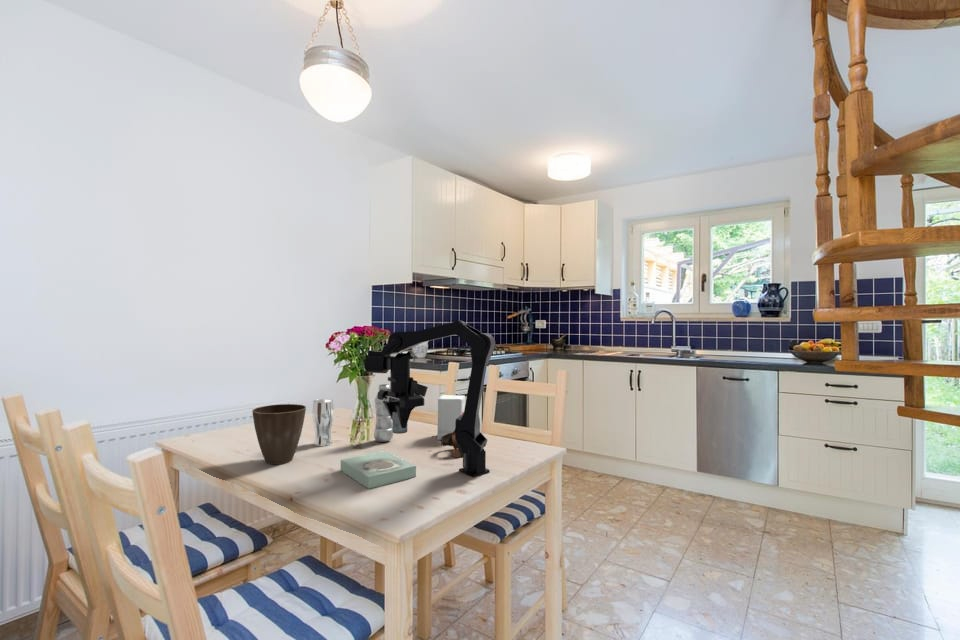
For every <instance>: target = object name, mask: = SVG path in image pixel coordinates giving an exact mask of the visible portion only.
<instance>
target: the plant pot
mask: <svg viewBox="0 0 960 640" xmlns="http://www.w3.org/2000/svg"><path fill="white" fill-rule="evenodd" d="M306 410H307V406H305V405H303V404H298V403H297V404H294V403H293V404H291V403H287V404H286V403H283V404H282V403H280V404H271V405H270V404H269V405H264V406H259V407H255V408H254V409H253V408H252V412H251V413H252V419H253V425H254V430H255V433H256V439H257V443H258V444H259V448H260V452H261V453H262V456H263V460H264V461H265V464H268V465H282V464H287V463H289V462H291V461H292V460H293V459H294V458H295V457H294V456H295V455H296V454H295V453H296V451H297V448H298V445H299V442H300V439H301V436H302V431H303V427H304V423H305V417H306V416H305V415H306Z"/></svg>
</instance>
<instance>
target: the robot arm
mask: <svg viewBox="0 0 960 640" xmlns="http://www.w3.org/2000/svg"><path fill="white" fill-rule="evenodd" d="M451 336H457V337H459V338H460V339H461V340H463V342H465V343H466V344H467V345H469V346H470V358H471V370H470V376H469V382H468V387H467V392H466V393H467V394H466V399H465V410H464V414H463V415H461V416H459V417H458V418H457V419H456V422H455V430H454V432H453V433H455V440H456V441H457V443H458V444H459V445H460V446H461V449H462V452H463V456H462V467H461V468H458V471H459V472H461V473H464V474H466V475H468V476H470V477H476V476H480V475H483V474H487V473H490V472H491V470H490V469H488V468H486V467H487V466H486V464H487V463H486V462H487V461H486V457H487V456H486V454H487V453H486V450H485V449H484V448H486V446H487V442H488V439H487V438H486V436H485V435H484V434H483V433H482V432H481V422H480V407H481V406H480V405H481V403H482V401H481V400H482V396H483V391H484V383H485V378H486V372H487V367H488V364H489V363H490V362H489V361H490V359H491V358H492V355H493V353H494V350H495V347H496V339H495V337H494V336H493V335H492V334H490V333H488V332H487V333H486V332H484V333H483V332H482V331H479V330H478V329H476V328H474V327H473V326H471V325H469V324H468V323H466V322H465V321H463V320H454V321H452V322H448V323H444V324H440V325H436V326H433V327H427V328H423V329H420V330H410V331H409V330H407V331H394V332H392V333H390V334H389V336H388V338H387V343H386V344H385V345H384V346H383V348H382V350H375V349H372V350H368V351H367V352H368V354H367V356H366V357H365V360H364V362H363V363H364V365H363V366H364V370H365V372H366V373H368V374H387V373H388V372H389V371H390V376H388V377H387V382H389V389H381V390H380V391H379V390H378V391H377V394H378V399H380V400H383V399H384V398H385V401H383V403H384V405H385V407H386V409H387V410H388V413H389V415H390V417H391V419H392V412H393V411H396V410H397V413H398V417H399V420H400V424H401V427H402V428H406V425H407V426H408V421H409V418H410V416H411V413H412V411H413V410H414V409H415V408H417V407H423V406H425V398H424V397H426V394H427V391H428V388H429V387H428V386H426V385H423V384H420V383H419V382H418V380H414V378H413V376H411V360H415V359H418V356H417V354H415V353H414V352H413V351H412V350H410V349H412V348H415V347H417V346H419V345H421V344H423V343H427V342H430V341H435V340H440V339H443V338H447V337H451ZM403 351H407V352H404V353H403ZM395 354H396V355H395ZM394 355H395V356H394Z"/></svg>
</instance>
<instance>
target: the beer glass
mask: <svg viewBox="0 0 960 640" xmlns="http://www.w3.org/2000/svg"><path fill="white" fill-rule="evenodd" d="M334 409H335V408H334V400H333V399H330V398H323V399H315V400H313V402H312V413H311V414H312V423H313V424H312V425H313V429H314V439H313V446H315V447H326V446H325V445H327V446H330V445H329V444H331V445H332V444H333V439H332V429H333V428H332V427H333V421H334V416H335V415H334V414H335V411H334Z"/></svg>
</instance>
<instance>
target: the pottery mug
mask: <svg viewBox="0 0 960 640" xmlns="http://www.w3.org/2000/svg"><path fill="white" fill-rule="evenodd" d="M441 439H442V440H441V444H440V445H441V447H443V446H444V447H446V446H448V447H453V449H454V450H453V451H452V455H453V458H459V457H463V452H462V449H461V446H460V445H459V444H458V443H457V441H456V440H455V433H453V432H452V433H449V434H447V435H444V436H443V437H442V438H441Z"/></svg>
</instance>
